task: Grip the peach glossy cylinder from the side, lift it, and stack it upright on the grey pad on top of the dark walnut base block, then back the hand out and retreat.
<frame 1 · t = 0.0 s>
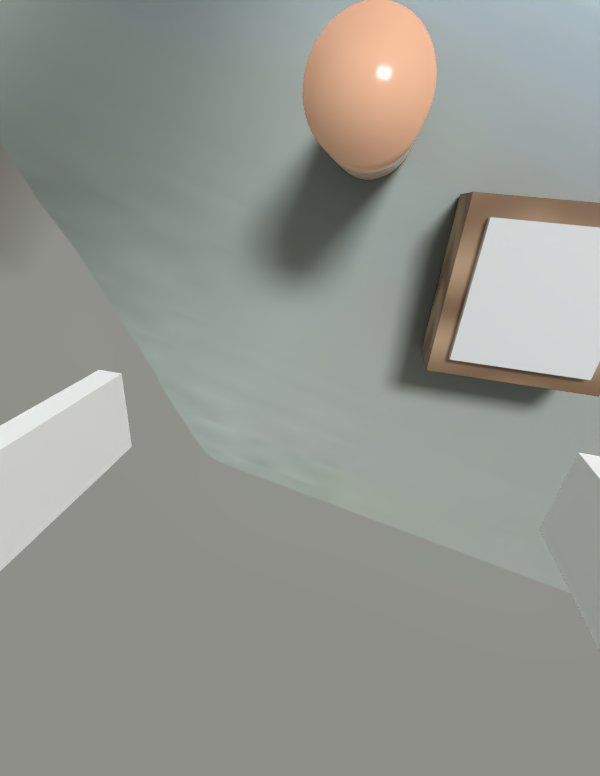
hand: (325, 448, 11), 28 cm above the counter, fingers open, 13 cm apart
walnut base: (519, 289, 33), on the counter
peach glossy cylinder: (372, 130, 30), on the counter
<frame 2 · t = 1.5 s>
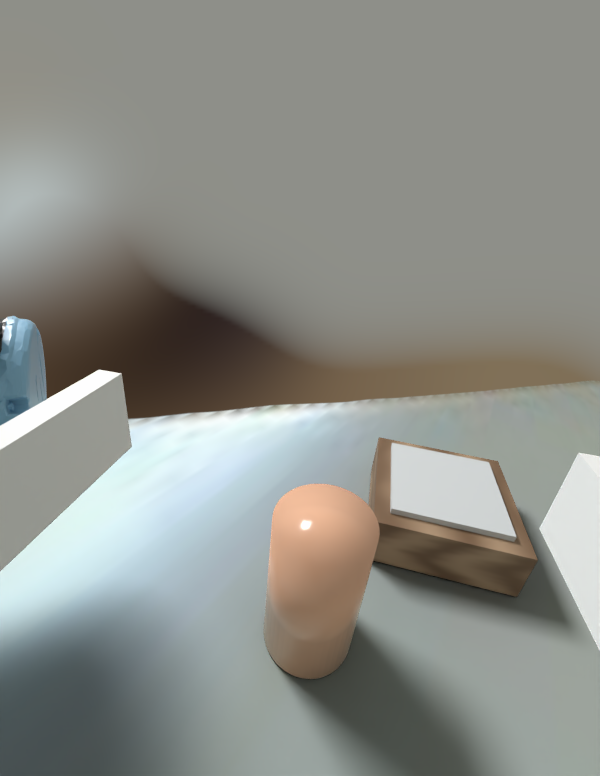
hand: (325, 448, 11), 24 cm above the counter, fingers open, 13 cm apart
walnut base: (431, 521, 41), on the counter
peach glossy cylinder: (307, 628, 30), on the counter
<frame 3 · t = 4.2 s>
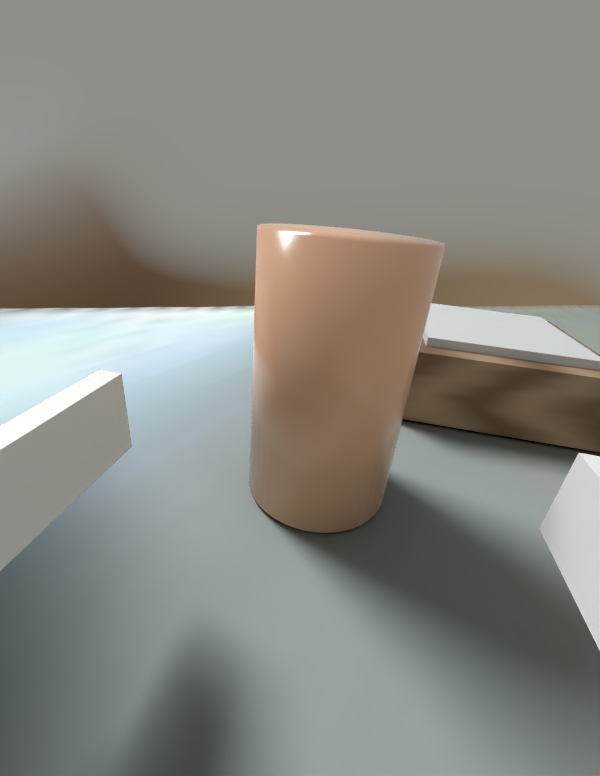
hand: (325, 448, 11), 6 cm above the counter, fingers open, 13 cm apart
walnut base: (471, 389, 31), on the counter
peach glossy cylinder: (316, 479, 20), on the counter
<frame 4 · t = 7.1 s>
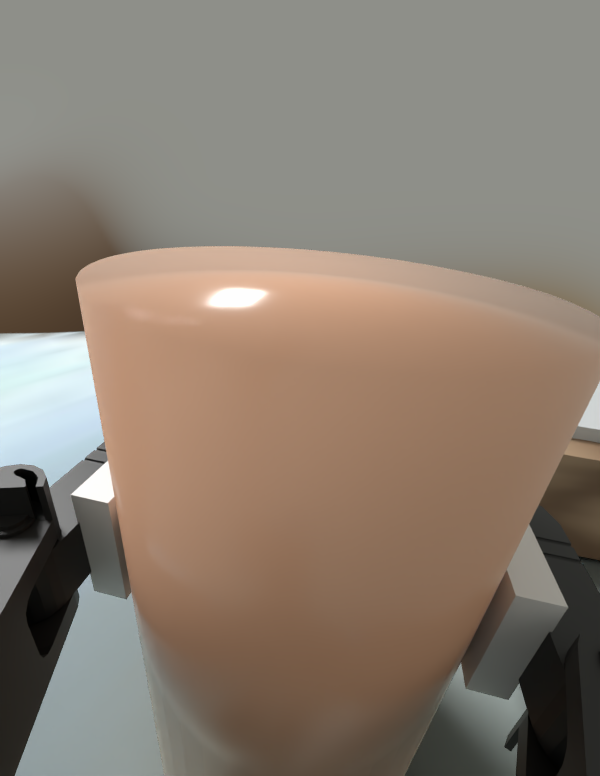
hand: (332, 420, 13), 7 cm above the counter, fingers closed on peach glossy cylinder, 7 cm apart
walnut base: (515, 460, 23), on the counter
peach glossy cylinder: (285, 691, 11), on the counter, touching gripper
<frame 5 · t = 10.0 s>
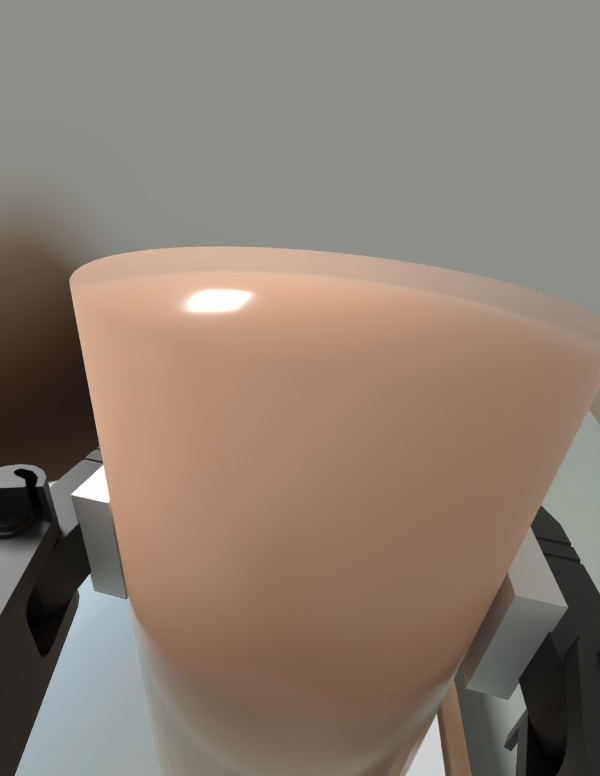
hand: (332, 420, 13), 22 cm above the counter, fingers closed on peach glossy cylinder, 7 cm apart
walnut base: (323, 703, 24), on the counter
peach glossy cylinder: (283, 693, 11), point 16 cm above the counter, touching gripper
when the fingers open (13 cm above the counter, at t = 13.3 s): peach glossy cylinder drops 1 cm, resting on walnut base.
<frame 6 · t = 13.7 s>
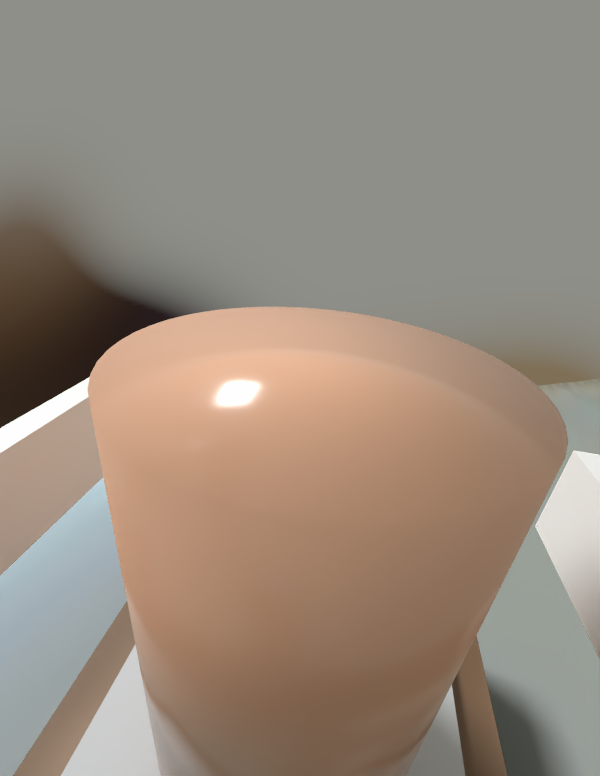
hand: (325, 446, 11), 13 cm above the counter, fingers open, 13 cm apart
peach glossy cylinder: (280, 717, 12), point 6 cm above the counter, touching walnut base
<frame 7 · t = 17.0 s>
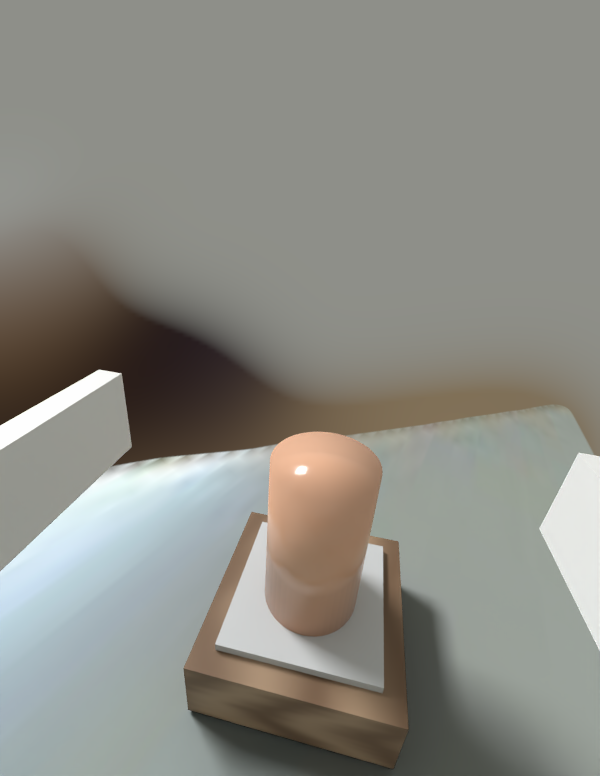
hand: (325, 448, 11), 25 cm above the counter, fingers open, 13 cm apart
walnut base: (305, 633, 31), on the counter
peach glossy cylinder: (310, 589, 29), point 6 cm above the counter, touching walnut base
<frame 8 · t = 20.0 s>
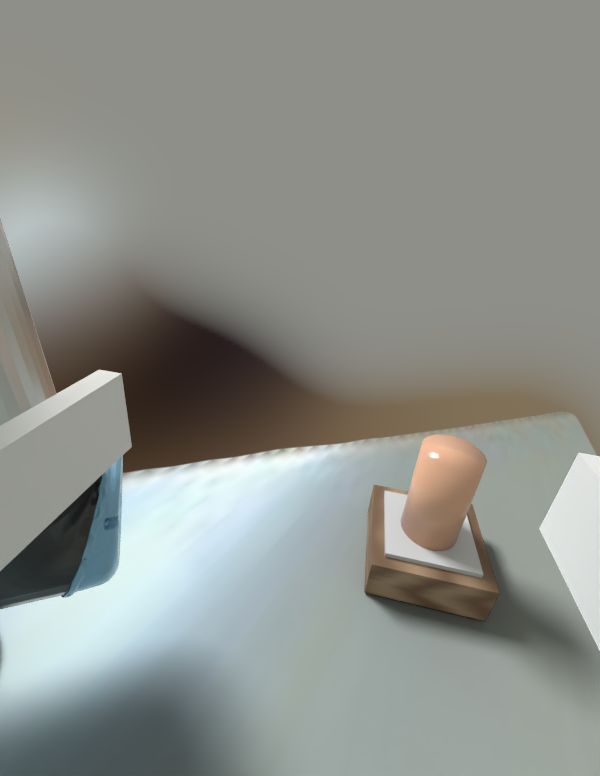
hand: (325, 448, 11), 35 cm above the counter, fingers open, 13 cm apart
walnut base: (418, 557, 50), on the counter
peach glossy cylinder: (428, 528, 48), point 6 cm above the counter, touching walnut base
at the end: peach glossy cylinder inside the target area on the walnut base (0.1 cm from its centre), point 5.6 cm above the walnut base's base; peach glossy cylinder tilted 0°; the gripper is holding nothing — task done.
